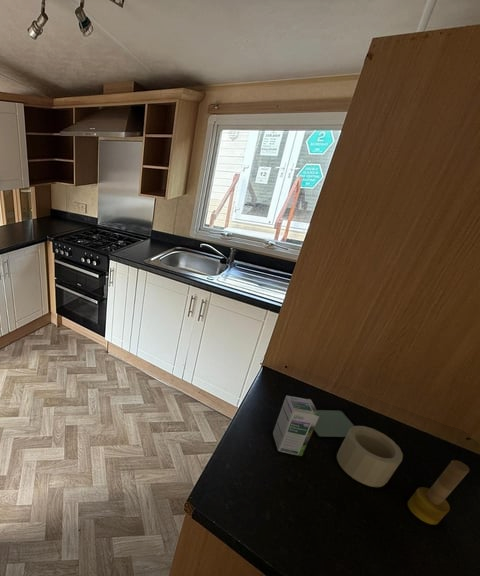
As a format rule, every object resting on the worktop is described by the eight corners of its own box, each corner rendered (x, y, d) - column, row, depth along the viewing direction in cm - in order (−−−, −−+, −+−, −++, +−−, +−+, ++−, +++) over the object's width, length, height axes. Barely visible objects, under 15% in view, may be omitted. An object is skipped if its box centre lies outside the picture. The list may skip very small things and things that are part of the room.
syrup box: (277, 452, 80) (293, 412, 74) (271, 433, 86) (286, 394, 79) (302, 457, 79) (320, 416, 73) (294, 437, 84) (311, 398, 78)
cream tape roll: (365, 450, 81) (379, 426, 77) (397, 488, 72) (414, 463, 68) (327, 449, 81) (339, 425, 77) (354, 487, 73) (369, 462, 69)
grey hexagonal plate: (340, 411, 92) (341, 410, 92) (363, 438, 84) (363, 437, 84) (299, 410, 93) (300, 409, 92) (318, 437, 85) (319, 436, 84)
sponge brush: (423, 500, 70) (460, 454, 63) (445, 525, 65) (487, 478, 58) (400, 500, 70) (435, 453, 63) (420, 525, 66) (460, 477, 58)
